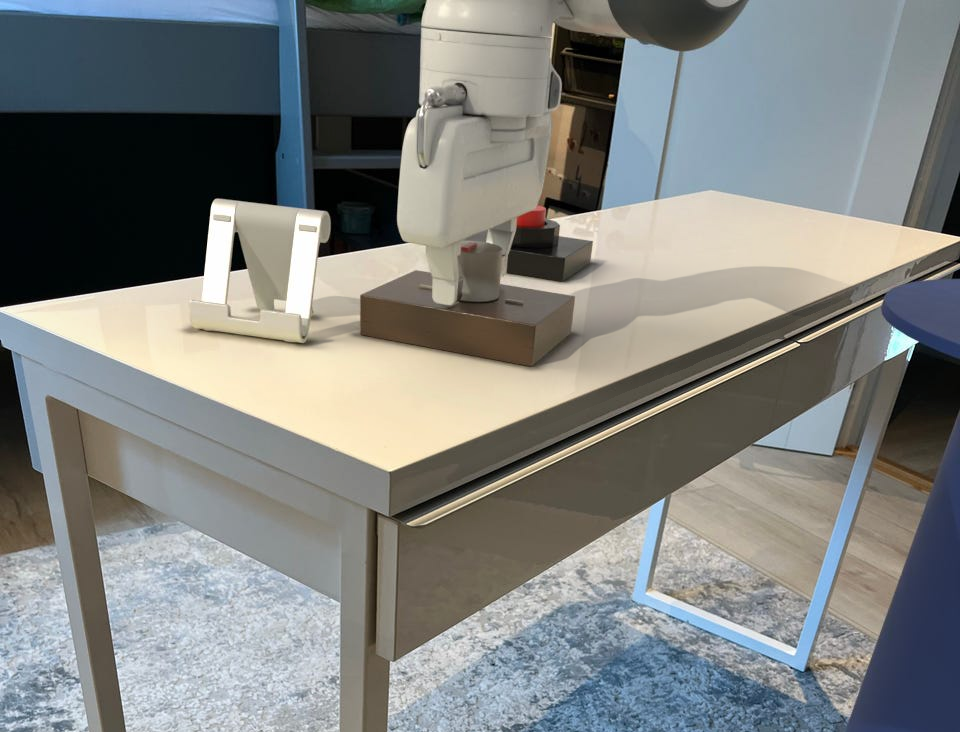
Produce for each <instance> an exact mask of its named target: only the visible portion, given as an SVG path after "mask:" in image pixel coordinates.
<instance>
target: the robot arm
mask: <svg viewBox="0 0 960 732" xmlns="http://www.w3.org/2000/svg"><path fill="white" fill-rule="evenodd" d="M749 1H750V0H426V1H425V6H424V9H423V12H422V17H421V23H420V26H421V28H420V29H421V30H420V53H419V55H420V59H419V97H418V104H419V106H420V108H418V109H417V110H416V114H415V116H414V117H413V118H412V119H411V120H410V122H409V123H408V125H407V127H406V130H405V133H404V138H403V143H402V150H401V158H400V166H399V167H400V168H399V179H398V193H397V194H398V195H397V209H396V211H397V212H396V223H397V224H396V225H397V229H398V233H399V234H400V237H401V239H402V241H403V242H405V243H408V244H413V245H419V246H425V258H426V261H427V264H428V268H429V271H430V273H431V275H432V277H433V284H432V298H433V301H434V302H436V303H438V304H444V305H452V304H454V303H456V302H458V301H459V300H460V299H461V298H462V287H463V277H459V271H458V261H457V256H459V255H460V253H461V241H462V240H464V239H467V238H469V237H471V236H474V235H476V234H478V233H481V232H483V231H485V230H488V234H487V240H486V243H491V244H495V245H498V246H500V247H501V248H502V249H503V252H502V265H501V278H503V277H505V276H506V274H507V273H506V271H507V260H508V254H509V251H510V248H511V245H512V241H513V238H514V235H515V232H516V225H517V217H519V216H521V215H523V214H526V213H528V212H530V211H533V210H534V209H535V208H536V206H537V205H539V202H540V199H541V195H542V192H543V188H544V184H545V178H546V171H547V165H548V158H549V153H550V144H551V137H552V136H551V135H552V125H553V124H552V123H553V122H552V115H551V112H555V111H557V110H558V109H559V107H560V105H561V98H562V90H563V89H562V88H563V87H562V86H563V82H562V79H561V77H560V75H559V74H558V73H557V71H556V69H555V68H554V66H553V64H552V58H551V48H552V37H553V25H554V24H555V25H556V26H558V27H560V28H563V29H565V30H569V31H574V32H581V33H588V34H595V35H598V36H603V37H612V38H621V39H630V40H636V41H638V42H642V43H646V44H649V45H652V46H656V47H660V48H663V49H667V50H670V51H674V52H691V51H695V50H698V49H701V48H703V47H706V46H709V45H710V44H712V43H713V42H715V41H716V40H717V39H718V38H720V37H721V36H722V35H723V34H724V33H725V32H727V31H728V30H729V28H730V27H731V26H732V25H733V24H734V23H735V22H736V20H737V19H738V18H739V16H740V15H741V14H742V12H744V9H745V8H746V6H747V5H748V3H749Z"/></svg>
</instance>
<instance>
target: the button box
mask: <svg viewBox="0 0 960 732" xmlns="http://www.w3.org/2000/svg"><path fill="white" fill-rule="evenodd" d="M560 229H561V224H560V223H558V222H557V221H556V220H552V219H549V218H545V225H544V226H520V225H516V232H515V235H514V238H513V241H512V245H511V248H510V251H509V254H508V260H507V271H506V274H513V275H519V276H526V277H533V278H537V279H543V280H550V281H555V282H564V281H565V280H567V279H568V278H569V277H571V276H573V275H574V274H576V273H577V272H579V271H580V270H582V269H584V268H585V267H587V266H588V265H589V264H591V260H592V253H593V245H594V241H593V240H589V239H581V238H575V237H568V236H560V231H561V230H560ZM487 234H488V230H485V231H483V232H481V233H478V234H476V235H474V236H471V237H469V238H467V239H464V240H462V241H480V242H486V240H487Z"/></svg>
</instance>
